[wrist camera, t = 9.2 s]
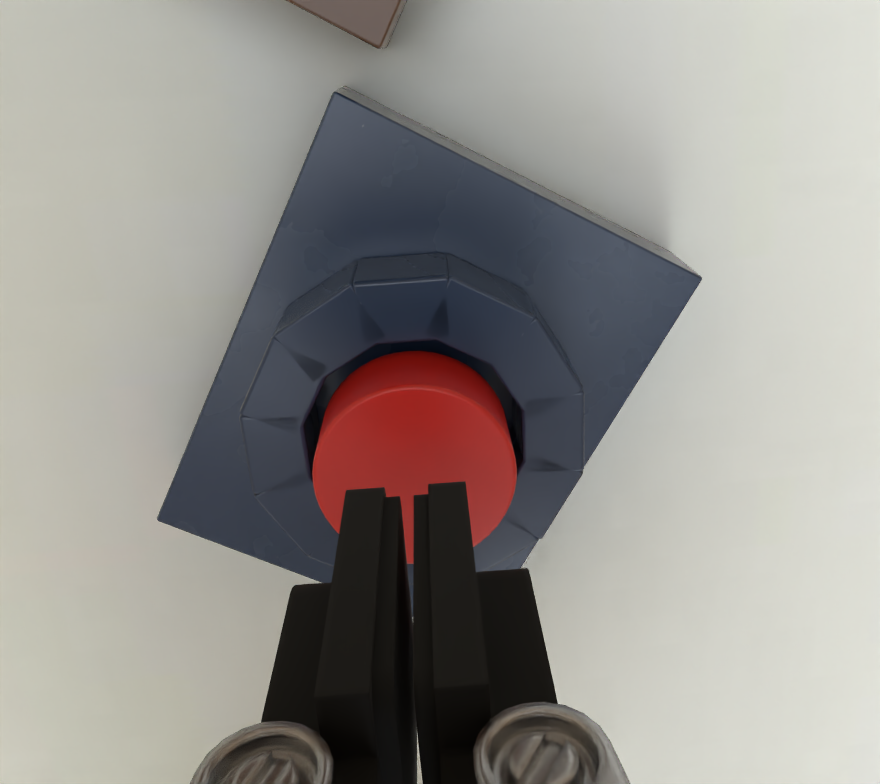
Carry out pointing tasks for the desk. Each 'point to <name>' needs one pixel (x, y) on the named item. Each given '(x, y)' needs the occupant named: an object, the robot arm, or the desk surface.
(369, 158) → the button box
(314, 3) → the panel
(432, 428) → the button
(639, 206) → the desk surface
